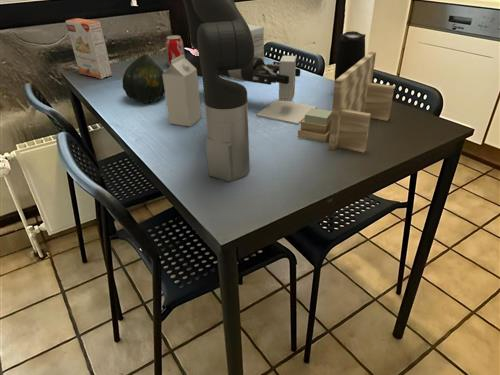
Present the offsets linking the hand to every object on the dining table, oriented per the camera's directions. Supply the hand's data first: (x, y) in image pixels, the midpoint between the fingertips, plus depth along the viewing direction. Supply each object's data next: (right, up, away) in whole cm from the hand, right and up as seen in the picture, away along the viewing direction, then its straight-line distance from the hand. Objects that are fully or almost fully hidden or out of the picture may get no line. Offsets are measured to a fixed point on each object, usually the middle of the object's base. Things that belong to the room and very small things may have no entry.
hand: (294, 76), depth 117 cm
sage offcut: (+5, -14, -10) cm, 18 cm away
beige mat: (-1, -9, +7) cm, 12 cm away
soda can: (-44, +18, +52) cm, 70 cm away
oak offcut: (+5, -16, -8) cm, 19 cm away
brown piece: (+18, -17, -6) cm, 26 cm away
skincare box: (-2, -5, +5) cm, 8 cm away
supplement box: (-16, +12, +40) cm, 45 cm away
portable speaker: (+20, -1, +19) cm, 27 cm away
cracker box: (-75, +13, +44) cm, 88 cm away
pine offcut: (+5, -19, -7) cm, 20 cm away
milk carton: (-32, -13, +4) cm, 35 cm away
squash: (-48, -2, +21) cm, 53 cm away
